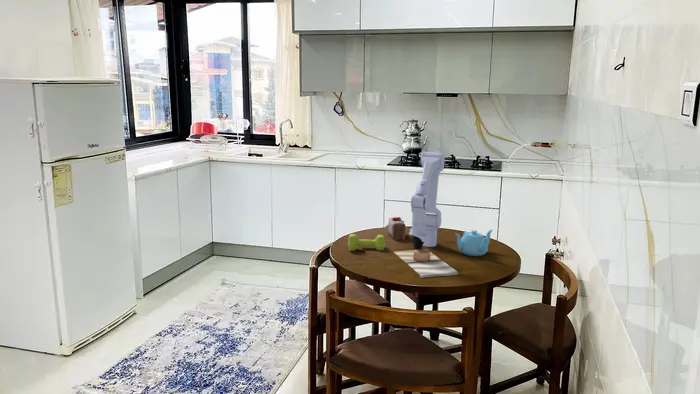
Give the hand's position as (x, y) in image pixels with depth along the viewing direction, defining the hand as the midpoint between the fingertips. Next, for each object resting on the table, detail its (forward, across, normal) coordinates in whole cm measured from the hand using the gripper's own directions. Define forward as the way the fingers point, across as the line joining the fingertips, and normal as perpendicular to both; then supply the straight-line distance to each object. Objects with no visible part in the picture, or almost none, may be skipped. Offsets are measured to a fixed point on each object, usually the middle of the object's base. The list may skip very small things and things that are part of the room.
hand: (417, 253), depth 223 cm
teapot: (+2, -1, +28) cm, 28 cm away
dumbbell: (+3, -16, -18) cm, 24 cm away
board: (+2, +7, 0) cm, 7 cm away
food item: (+2, -35, +4) cm, 35 cm away
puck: (+1, +5, 0) cm, 5 cm away
